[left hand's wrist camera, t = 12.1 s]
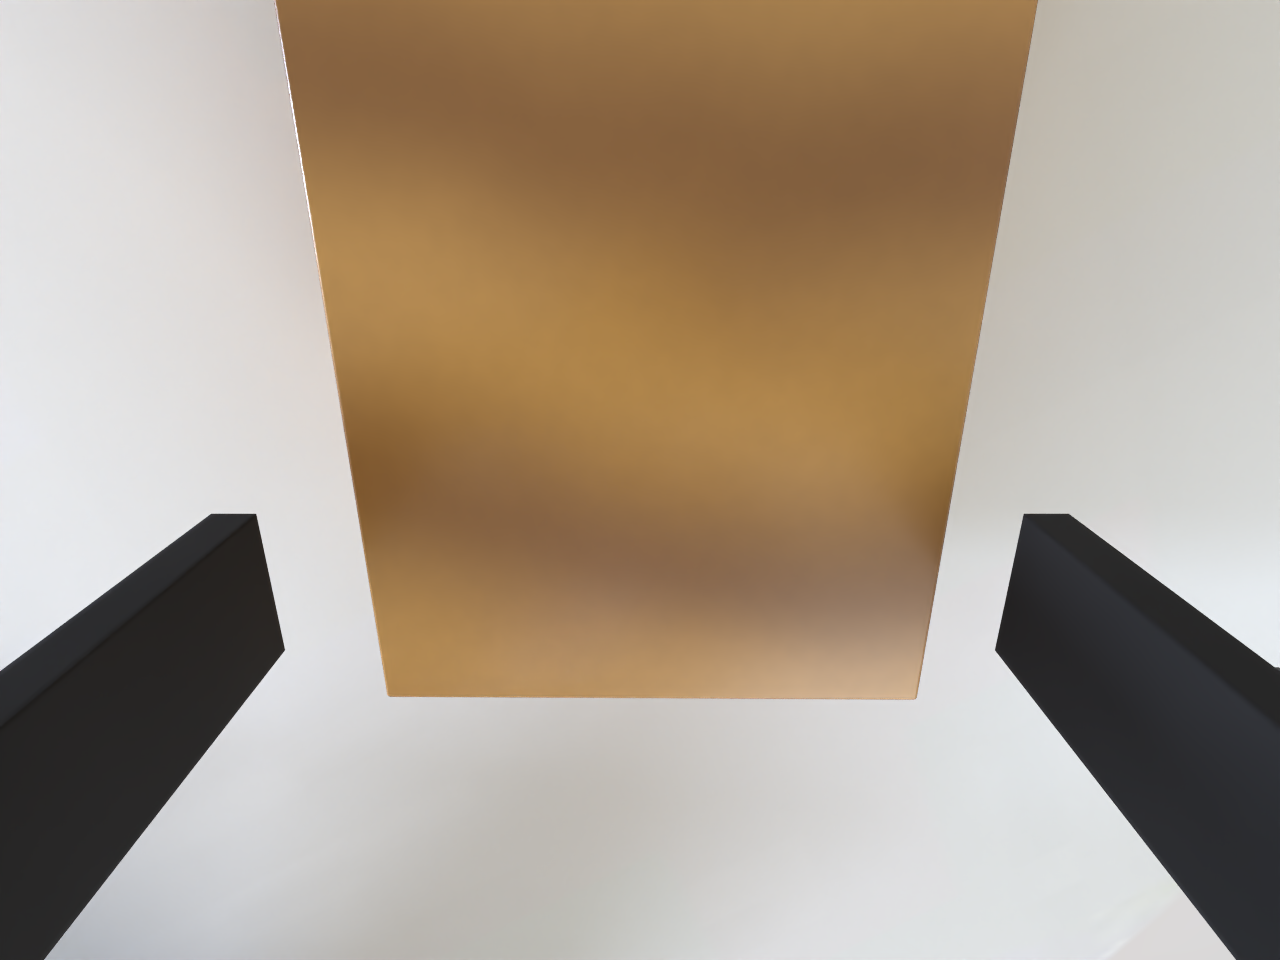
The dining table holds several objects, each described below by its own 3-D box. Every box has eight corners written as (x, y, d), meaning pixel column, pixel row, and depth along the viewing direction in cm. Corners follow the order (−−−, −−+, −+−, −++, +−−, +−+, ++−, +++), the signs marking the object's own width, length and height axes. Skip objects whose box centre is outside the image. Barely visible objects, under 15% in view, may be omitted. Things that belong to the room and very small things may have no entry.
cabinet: (403, -392, 16) (82, -1143, 7) (904, -397, 16) (1246, -1170, 7) (484, 505, 24) (386, 698, 15) (816, 506, 24) (918, 701, 15)
